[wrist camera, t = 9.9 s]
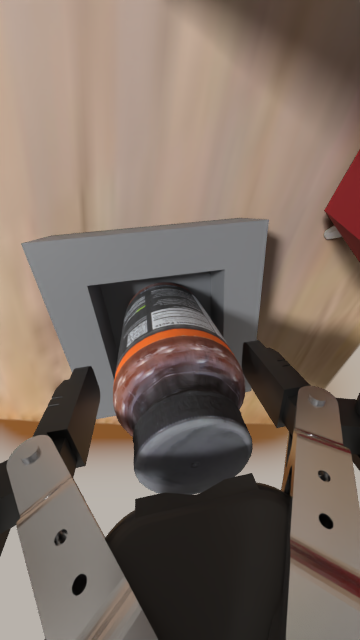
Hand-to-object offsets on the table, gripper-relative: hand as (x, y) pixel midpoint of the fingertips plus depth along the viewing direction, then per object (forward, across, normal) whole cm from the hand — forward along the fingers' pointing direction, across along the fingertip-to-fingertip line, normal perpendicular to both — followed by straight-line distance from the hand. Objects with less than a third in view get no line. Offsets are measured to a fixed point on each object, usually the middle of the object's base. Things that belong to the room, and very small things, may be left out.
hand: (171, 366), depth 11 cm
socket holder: (+7, 0, 0) cm, 7 cm away
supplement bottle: (+6, 0, 0) cm, 6 cm away
